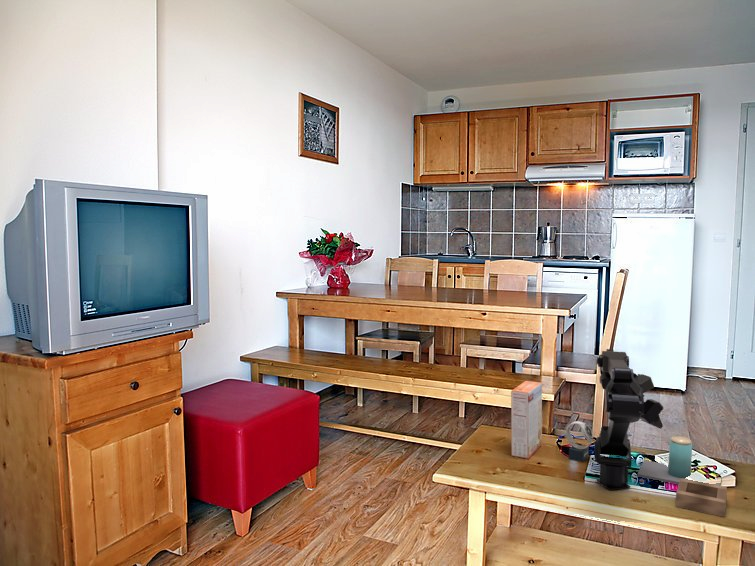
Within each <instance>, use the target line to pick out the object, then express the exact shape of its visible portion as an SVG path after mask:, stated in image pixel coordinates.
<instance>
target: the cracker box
mask: <svg viewBox="0 0 755 566" xmlns="http://www.w3.org/2000/svg"><path fill="white" fill-rule="evenodd" d="M542 393H543V384H542V382H538V381H531V380H525V381H523V382H521V384H519V385H517V387H515V388H513V389H512V390H511V392H510V397H511V398H510V401H511V403H510V404H511V405H510V406H511V413H510V414H511V416H510V418H511V422H510V423H511V427H510V429H511V430H510V431H511V432H510V433H511V434H510V435H511V436H510V439H511V444H510V445H511V457H515V458H522V459H525V460H530V459H531V457H532V456H533V455H534V454H535V453H536V452H537V450H538V449H539V448H541V446H542V443H543V441H542V439H543V436H542V435H543V432H542V431H543V427H542V422H543V419H542V416H543V413H542V412H543V410H542V409H543V402H542V401H543V394H542Z"/></svg>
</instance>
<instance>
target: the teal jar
mask: <svg viewBox="0 0 755 566" xmlns="http://www.w3.org/2000/svg"><path fill="white" fill-rule="evenodd" d="M668 449H669V451H668V463H667V464H668V473H669V474H670V475H672V476H674V477H678V478H686V477H688V476H690V475H691V469H692V457H693V456H692V455H693V442H692V440H691V439H690V438H689V437H685V436H680V435H679V436H678V435H675V436H671V437H670V439H669V448H668Z"/></svg>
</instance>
